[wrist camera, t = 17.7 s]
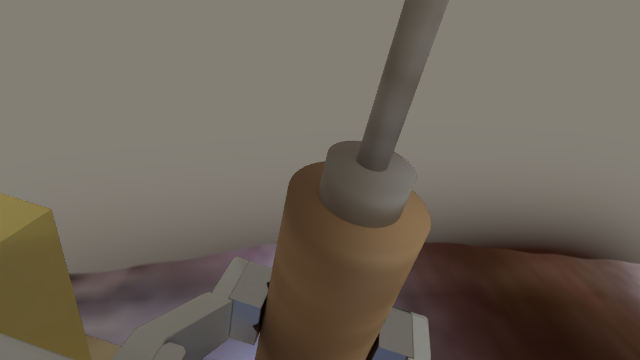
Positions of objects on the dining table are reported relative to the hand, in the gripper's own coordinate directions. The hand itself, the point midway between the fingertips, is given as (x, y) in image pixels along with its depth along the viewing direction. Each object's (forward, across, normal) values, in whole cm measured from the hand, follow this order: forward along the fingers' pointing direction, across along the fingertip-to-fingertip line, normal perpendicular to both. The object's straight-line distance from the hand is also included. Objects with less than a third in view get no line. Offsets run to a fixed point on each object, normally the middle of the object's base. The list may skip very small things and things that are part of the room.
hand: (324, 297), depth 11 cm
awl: (-1, 0, +5) cm, 5 cm away
